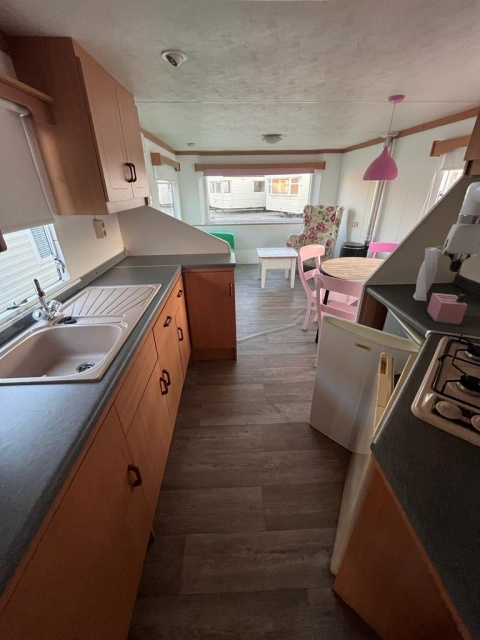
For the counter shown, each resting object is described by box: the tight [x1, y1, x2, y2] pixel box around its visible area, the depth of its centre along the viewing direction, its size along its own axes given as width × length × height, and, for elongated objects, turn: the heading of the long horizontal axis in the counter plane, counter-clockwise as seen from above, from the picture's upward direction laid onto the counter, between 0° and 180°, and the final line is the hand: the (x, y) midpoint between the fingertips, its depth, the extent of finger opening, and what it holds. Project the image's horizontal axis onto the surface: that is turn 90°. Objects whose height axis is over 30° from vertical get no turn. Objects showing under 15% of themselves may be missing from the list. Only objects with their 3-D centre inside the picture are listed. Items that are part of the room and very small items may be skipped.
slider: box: [456, 293, 466, 303], centre depth 110 cm, size 2×2×3 cm
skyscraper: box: [412, 245, 444, 302], centre depth 134 cm, size 8×7×28 cm
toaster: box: [426, 292, 468, 326], centre depth 117 cm, size 9×13×9 cm
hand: (453, 271), depth 102 cm, fingers closed
